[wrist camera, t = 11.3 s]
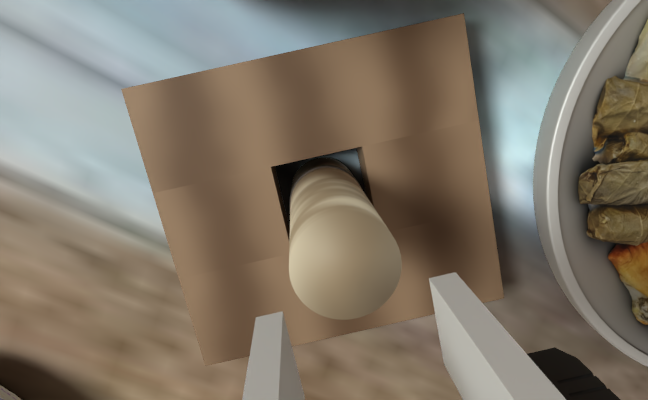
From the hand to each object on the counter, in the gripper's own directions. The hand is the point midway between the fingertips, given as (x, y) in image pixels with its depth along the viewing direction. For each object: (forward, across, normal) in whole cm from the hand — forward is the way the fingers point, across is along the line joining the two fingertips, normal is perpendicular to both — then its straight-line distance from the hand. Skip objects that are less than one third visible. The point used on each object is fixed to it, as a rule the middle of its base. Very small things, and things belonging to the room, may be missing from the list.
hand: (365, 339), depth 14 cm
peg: (+21, 0, 0) cm, 21 cm away
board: (+21, 0, 0) cm, 21 cm away
